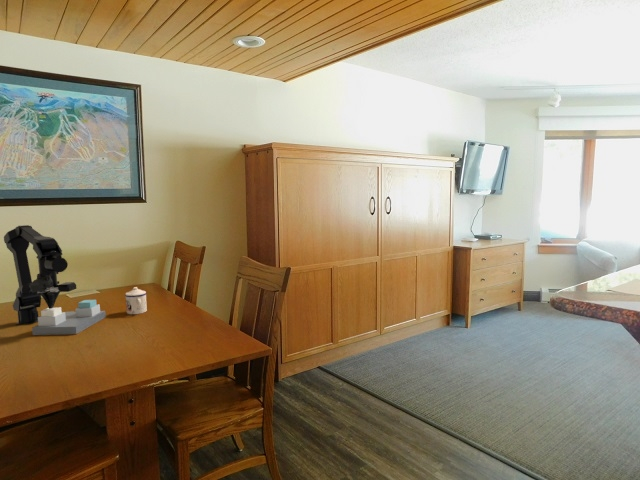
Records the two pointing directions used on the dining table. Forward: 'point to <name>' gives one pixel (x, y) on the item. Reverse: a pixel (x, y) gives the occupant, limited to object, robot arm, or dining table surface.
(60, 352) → the dining table surface
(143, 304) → the teacup with lid
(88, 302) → the teal key
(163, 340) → the dining table surface
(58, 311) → the cream key
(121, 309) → the dining table surface
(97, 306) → the grey rectangular board
